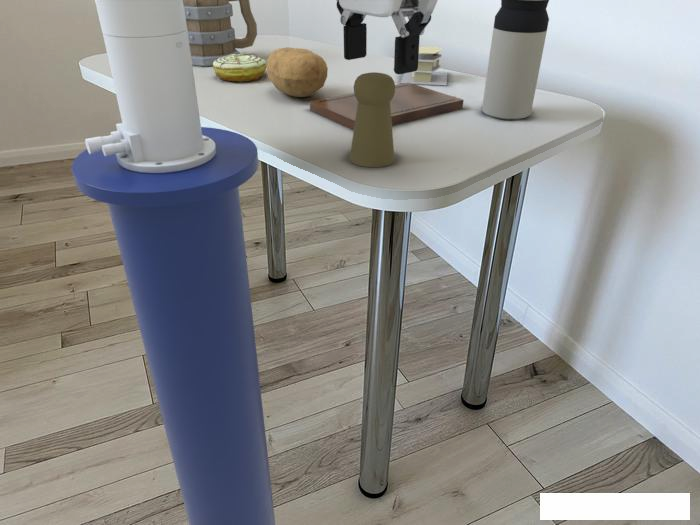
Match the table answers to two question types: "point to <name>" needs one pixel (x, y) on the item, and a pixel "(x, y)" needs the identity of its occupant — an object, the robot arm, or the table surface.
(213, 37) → the tankard
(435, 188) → the table surface
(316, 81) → the potato
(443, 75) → the stacked layers on plate
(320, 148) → the table surface
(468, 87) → the table surface
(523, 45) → the travel mug
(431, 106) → the cutting board
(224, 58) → the decorated donut
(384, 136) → the olive tapered rounded piece
